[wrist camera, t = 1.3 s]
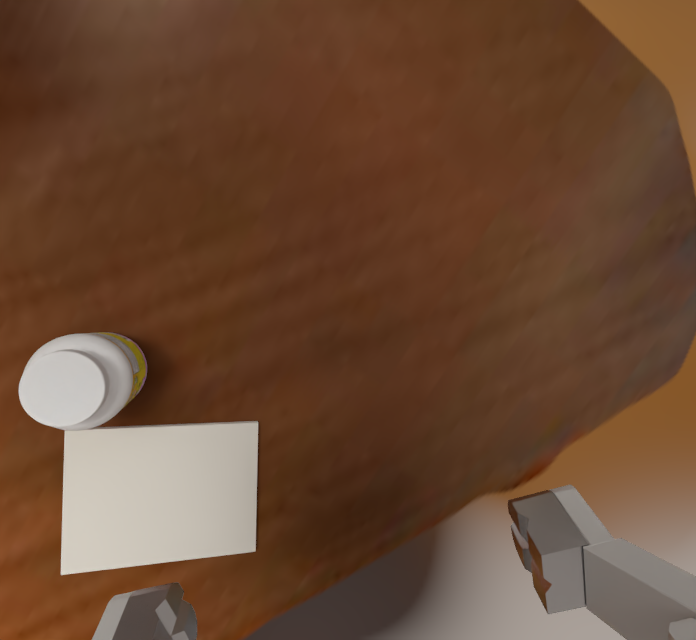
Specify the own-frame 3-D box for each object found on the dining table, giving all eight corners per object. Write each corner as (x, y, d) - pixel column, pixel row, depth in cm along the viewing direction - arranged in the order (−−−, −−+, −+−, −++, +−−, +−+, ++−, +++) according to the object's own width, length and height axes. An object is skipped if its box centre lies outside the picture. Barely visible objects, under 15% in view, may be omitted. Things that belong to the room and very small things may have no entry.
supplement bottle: (91, 422, 40) (36, 466, 27) (48, 356, 39) (-29, 371, 26) (163, 382, 41) (142, 406, 29) (124, 317, 40) (85, 314, 28)
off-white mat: (63, 569, 39) (60, 575, 38) (67, 428, 39) (64, 430, 38) (254, 547, 43) (255, 551, 43) (257, 420, 44) (258, 422, 43)
